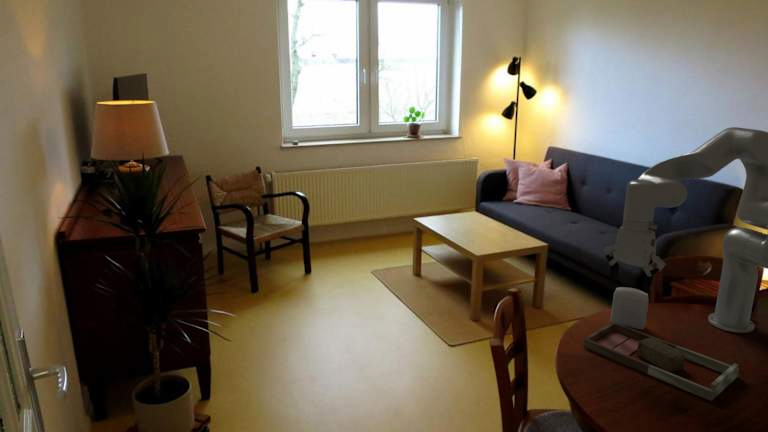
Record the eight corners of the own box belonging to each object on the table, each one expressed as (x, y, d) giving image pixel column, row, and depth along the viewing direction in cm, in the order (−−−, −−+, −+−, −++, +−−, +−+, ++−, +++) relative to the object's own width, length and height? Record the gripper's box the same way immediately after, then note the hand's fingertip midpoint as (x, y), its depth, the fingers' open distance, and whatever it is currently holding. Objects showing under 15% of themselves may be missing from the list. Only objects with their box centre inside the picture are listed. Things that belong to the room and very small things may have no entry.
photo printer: (645, 325, 177) (650, 289, 174) (644, 331, 174) (648, 294, 170) (611, 318, 183) (615, 283, 179) (609, 323, 179) (613, 287, 176)
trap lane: (612, 329, 175) (613, 317, 174) (737, 376, 149) (740, 363, 148) (582, 346, 165) (583, 334, 164) (711, 401, 139) (713, 386, 137)
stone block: (670, 375, 150) (673, 358, 149) (633, 355, 160) (635, 339, 159) (685, 369, 153) (687, 352, 151) (647, 350, 163) (649, 334, 162)
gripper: (675, 229, 150) (666, 288, 154) (614, 216, 163) (608, 271, 167) (662, 235, 145) (654, 296, 150) (600, 220, 158) (594, 277, 163)
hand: (629, 282), depth 159 cm, fingers open, 9 cm apart
